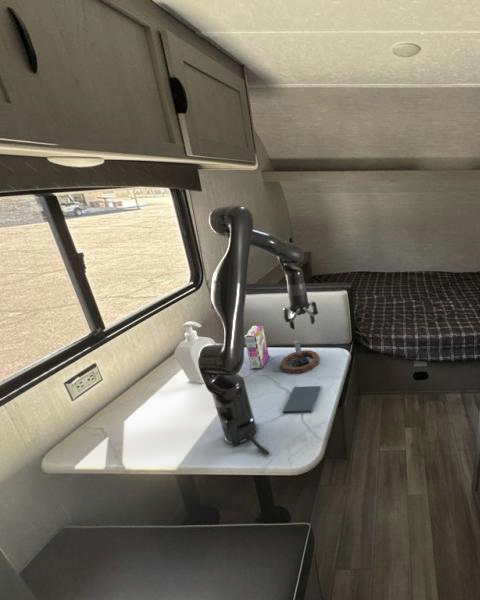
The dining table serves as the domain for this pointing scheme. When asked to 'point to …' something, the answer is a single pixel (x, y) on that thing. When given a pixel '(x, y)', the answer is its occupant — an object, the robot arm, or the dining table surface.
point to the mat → (302, 399)
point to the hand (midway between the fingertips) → (303, 326)
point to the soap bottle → (191, 352)
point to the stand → (299, 356)
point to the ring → (302, 368)
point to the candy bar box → (256, 346)
